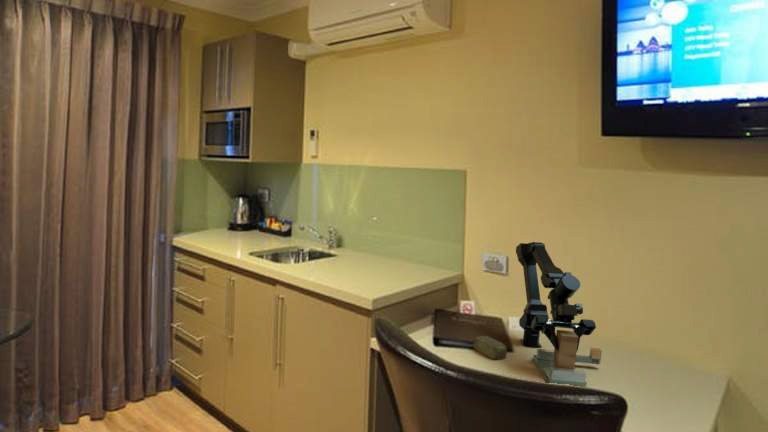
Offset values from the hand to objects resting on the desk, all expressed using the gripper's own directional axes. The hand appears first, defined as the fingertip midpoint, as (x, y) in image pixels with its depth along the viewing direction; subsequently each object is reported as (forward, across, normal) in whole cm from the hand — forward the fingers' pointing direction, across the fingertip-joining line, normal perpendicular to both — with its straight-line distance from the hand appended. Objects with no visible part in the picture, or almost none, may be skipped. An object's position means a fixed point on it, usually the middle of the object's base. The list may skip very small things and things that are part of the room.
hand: (566, 350), depth 152 cm
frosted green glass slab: (+3, 0, +11) cm, 11 cm away
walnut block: (+5, 0, +6) cm, 8 cm away
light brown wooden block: (-3, +5, +14) cm, 15 cm away
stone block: (-5, -20, +19) cm, 28 cm away
